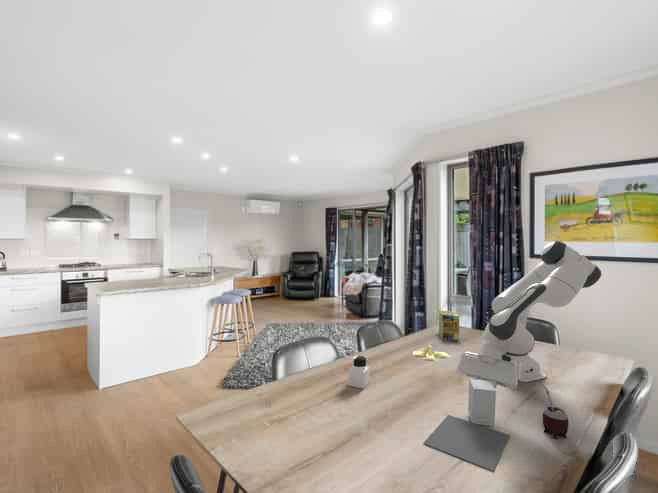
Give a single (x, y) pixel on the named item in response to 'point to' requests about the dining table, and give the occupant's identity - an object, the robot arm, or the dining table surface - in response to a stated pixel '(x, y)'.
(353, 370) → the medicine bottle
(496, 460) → the mat
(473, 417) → the supplement box
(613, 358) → the dining table surface
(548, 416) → the mate gourd
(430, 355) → the banana bunch
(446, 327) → the protein box
